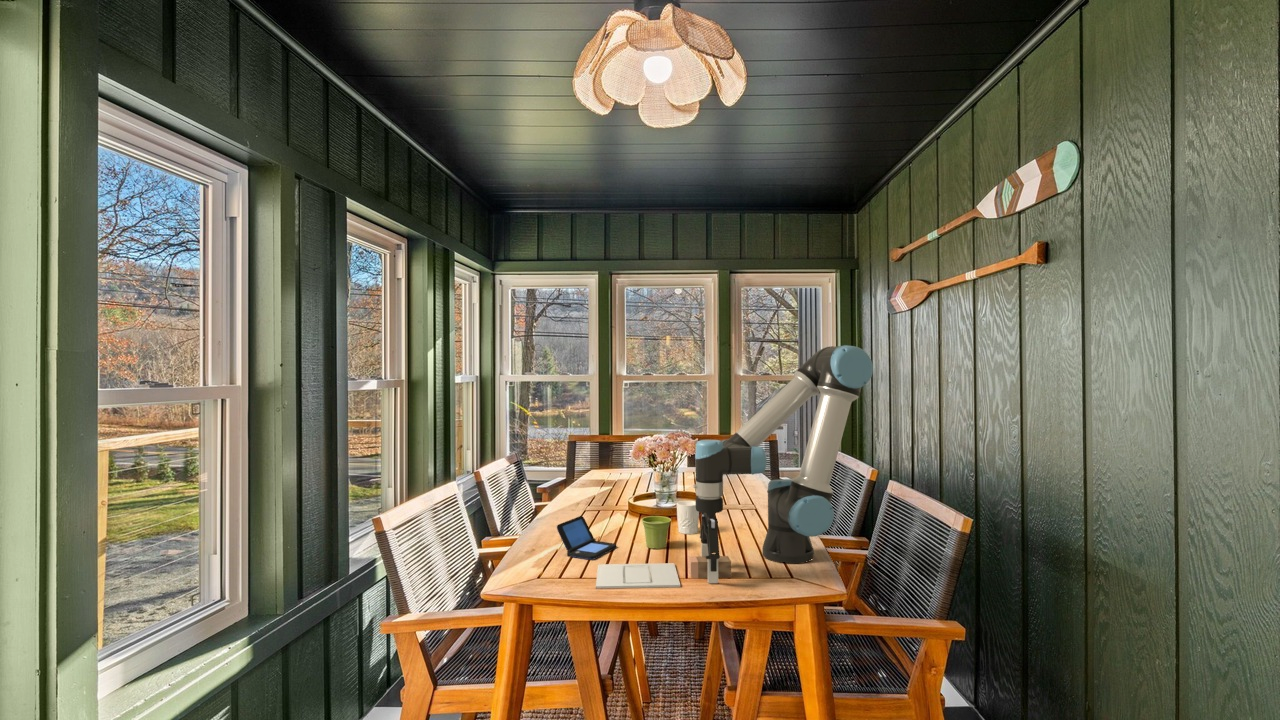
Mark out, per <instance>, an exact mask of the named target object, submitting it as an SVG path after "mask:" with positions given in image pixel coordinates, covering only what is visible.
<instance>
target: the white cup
mask: <svg viewBox="0 0 1280 720" xmlns="http://www.w3.org/2000/svg"><path fill="white" fill-rule="evenodd" d="M676 518H677V526H678V527H677V528H678V529H677V530H678V533H679V534H682V535H695V534H697V533H699V521H700V519H699V518H700V512H698V511H697V510H696V500H680V501H679V500H678V501H677V502H676Z"/></svg>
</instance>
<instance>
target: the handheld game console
mask: <svg viewBox="0 0 1280 720" xmlns="http://www.w3.org/2000/svg"><path fill="white" fill-rule="evenodd" d="M556 530H557V533H558V534H559V537H560V538H561V541H562V543H563V545H564V547H565V549H566V551H567V553H566V556H567V557H568V556H571V557H572V558H576V557H577V558H578V559H582V558H583V560H588V559H589V560H588V561H590V560H595V559H598V558H600V557H601V556H604V555H605V554H607V553H610V552H611V551H613V550H615V549H616V548H617V543H613V542H606V541H601V540H600V541H599V540H596V538H595V537H594V536H593V534H592V532H591V531H590V527H589V525H588V523H587V521H586V519H585V518H584V516H582V515H580V516H576V517H575V518H572V519H570V520H566V521H564V522H561V523H558V524H557V525H556ZM571 557H570V558H571Z"/></svg>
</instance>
